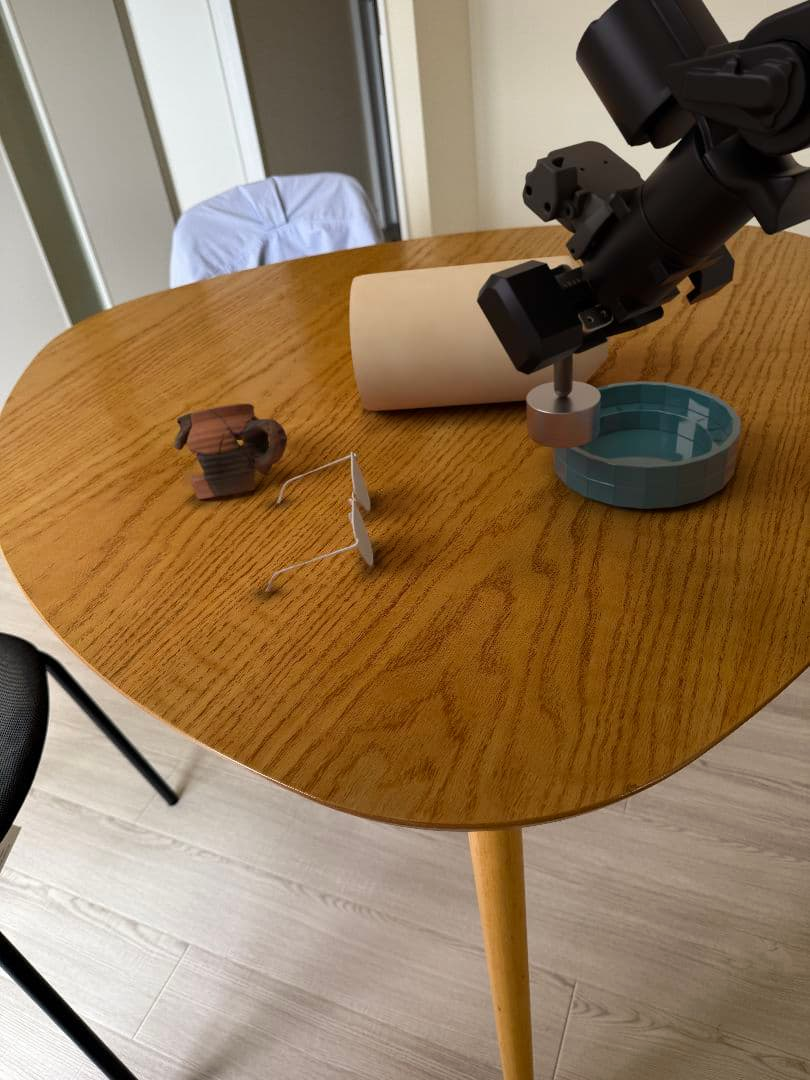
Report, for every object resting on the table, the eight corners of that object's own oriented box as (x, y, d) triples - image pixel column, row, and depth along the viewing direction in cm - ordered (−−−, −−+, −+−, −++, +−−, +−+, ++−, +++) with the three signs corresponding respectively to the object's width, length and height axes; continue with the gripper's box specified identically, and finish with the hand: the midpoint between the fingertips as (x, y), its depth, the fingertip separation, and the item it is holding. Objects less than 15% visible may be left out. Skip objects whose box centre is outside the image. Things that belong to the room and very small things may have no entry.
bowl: (772, 466, 66) (781, 419, 64) (645, 537, 61) (649, 489, 58) (637, 409, 77) (640, 367, 75) (518, 465, 71) (517, 421, 69)
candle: (358, 254, 82) (601, 230, 79) (376, 372, 91) (596, 355, 88) (341, 310, 72) (620, 285, 68) (364, 436, 80) (612, 420, 77)
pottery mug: (167, 508, 73) (146, 421, 73) (226, 497, 82) (209, 419, 81) (273, 485, 68) (252, 392, 68) (325, 475, 77) (306, 393, 76)
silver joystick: (602, 446, 59) (608, 274, 51) (527, 450, 60) (522, 281, 52) (596, 412, 63) (601, 248, 56) (526, 416, 64) (521, 255, 57)
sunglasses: (374, 582, 60) (354, 531, 57) (272, 609, 61) (246, 561, 58) (369, 487, 71) (352, 441, 68) (282, 511, 72) (262, 467, 69)
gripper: (717, 70, 49) (586, 227, 63) (487, 128, 41) (397, 291, 56) (811, 218, 48) (656, 344, 62) (592, 305, 40) (473, 426, 55)
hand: (550, 347), depth 59 cm, fingers closed on silver joystick
